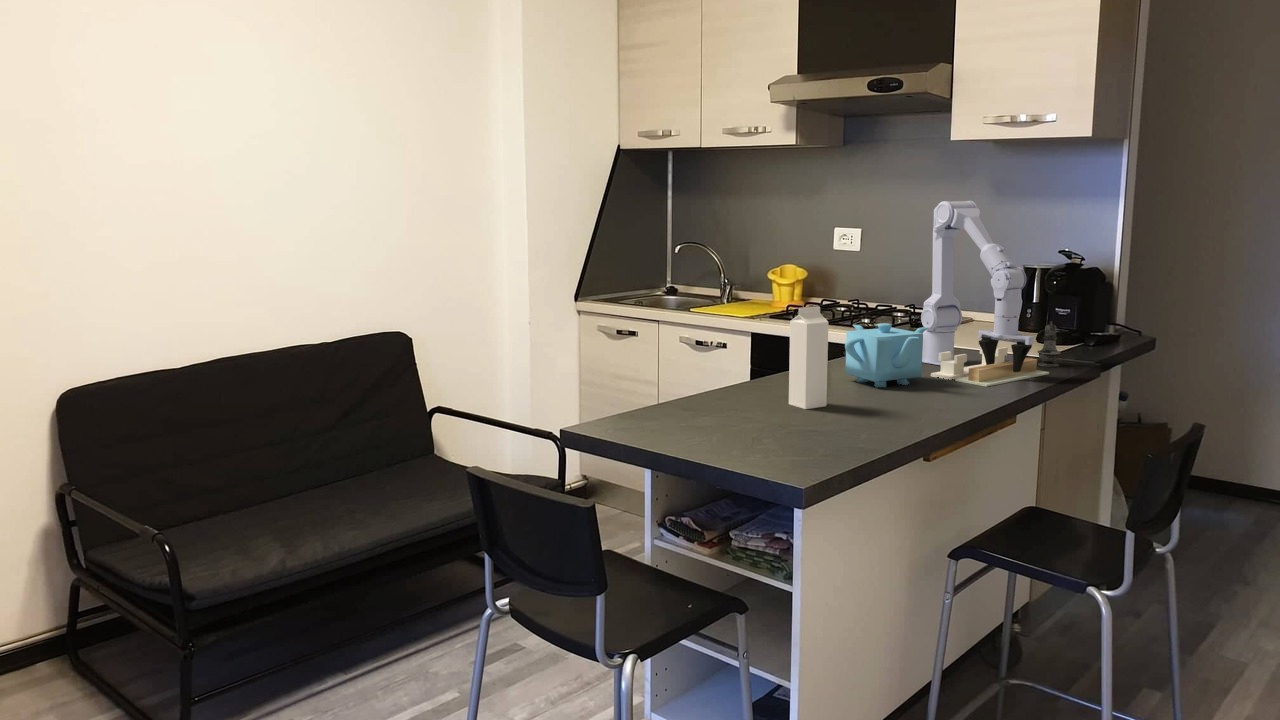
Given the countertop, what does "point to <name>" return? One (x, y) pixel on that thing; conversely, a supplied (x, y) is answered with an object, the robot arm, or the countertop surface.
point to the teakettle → (884, 354)
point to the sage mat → (1004, 378)
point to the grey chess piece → (1049, 347)
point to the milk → (808, 359)
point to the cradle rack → (962, 364)
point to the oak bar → (1000, 370)
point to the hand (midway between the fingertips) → (1003, 369)
